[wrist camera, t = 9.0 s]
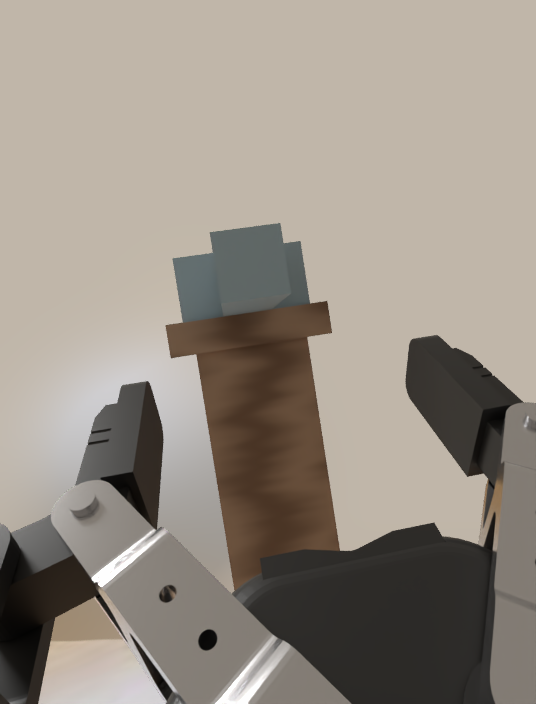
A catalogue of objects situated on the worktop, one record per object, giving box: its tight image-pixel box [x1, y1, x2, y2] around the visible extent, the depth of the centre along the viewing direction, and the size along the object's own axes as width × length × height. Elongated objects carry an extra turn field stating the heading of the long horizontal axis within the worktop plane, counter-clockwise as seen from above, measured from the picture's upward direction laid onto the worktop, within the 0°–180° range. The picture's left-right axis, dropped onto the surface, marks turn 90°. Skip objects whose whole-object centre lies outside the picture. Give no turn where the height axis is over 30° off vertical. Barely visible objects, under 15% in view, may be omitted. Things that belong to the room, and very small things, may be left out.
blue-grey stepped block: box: [173, 223, 310, 323], centre depth 26 cm, size 8×16×4 cm, turn 6°
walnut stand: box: [166, 301, 340, 590], centre depth 30 cm, size 10×8×30 cm
